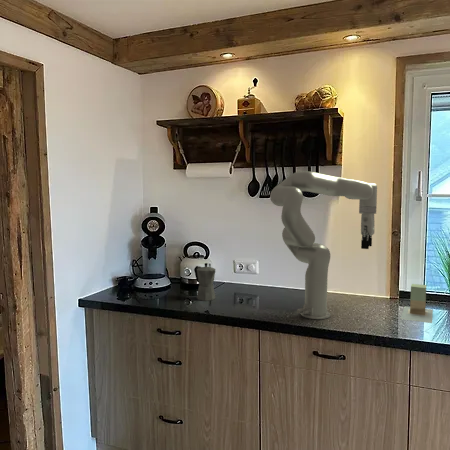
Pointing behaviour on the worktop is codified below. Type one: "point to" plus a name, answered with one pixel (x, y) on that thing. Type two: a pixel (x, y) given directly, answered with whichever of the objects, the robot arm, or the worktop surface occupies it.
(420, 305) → the oak block
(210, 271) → the coffeepot
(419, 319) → the plan board
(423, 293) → the green block
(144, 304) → the worktop surface
